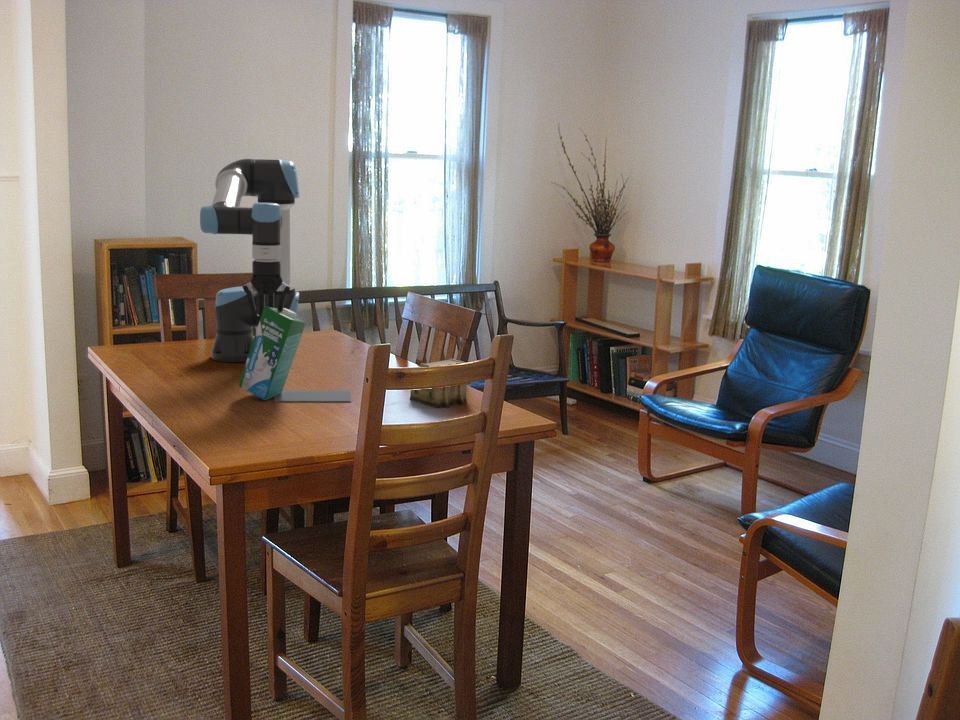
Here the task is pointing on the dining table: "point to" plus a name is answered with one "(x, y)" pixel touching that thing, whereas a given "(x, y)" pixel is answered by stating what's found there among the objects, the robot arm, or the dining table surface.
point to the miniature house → (440, 391)
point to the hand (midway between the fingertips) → (267, 344)
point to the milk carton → (272, 352)
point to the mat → (314, 396)
